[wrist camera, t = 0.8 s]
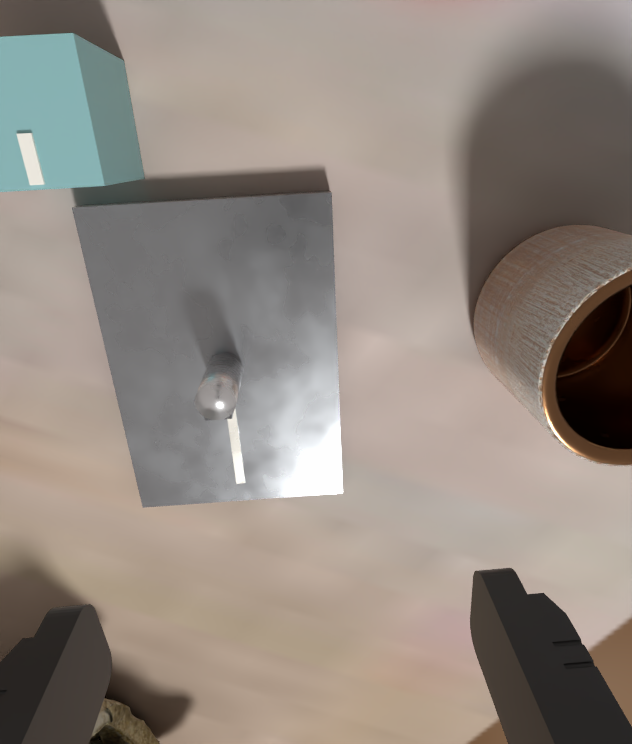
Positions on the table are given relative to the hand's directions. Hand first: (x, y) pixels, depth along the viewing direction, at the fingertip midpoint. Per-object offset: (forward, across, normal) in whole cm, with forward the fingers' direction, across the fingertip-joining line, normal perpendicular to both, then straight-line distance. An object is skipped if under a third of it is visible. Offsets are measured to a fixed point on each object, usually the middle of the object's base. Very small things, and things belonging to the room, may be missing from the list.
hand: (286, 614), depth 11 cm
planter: (+23, -17, +2) cm, 28 cm away
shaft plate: (+22, +4, +3) cm, 23 cm away
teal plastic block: (+22, +10, -11) cm, 27 cm away
